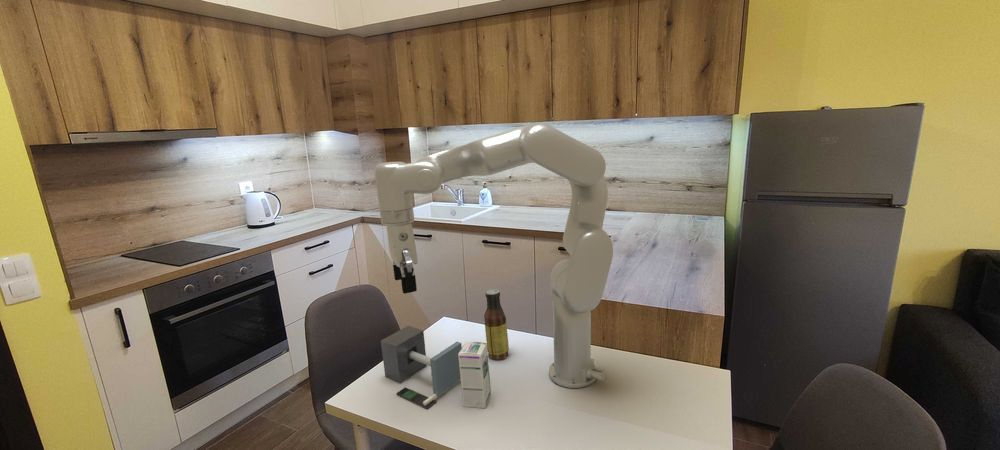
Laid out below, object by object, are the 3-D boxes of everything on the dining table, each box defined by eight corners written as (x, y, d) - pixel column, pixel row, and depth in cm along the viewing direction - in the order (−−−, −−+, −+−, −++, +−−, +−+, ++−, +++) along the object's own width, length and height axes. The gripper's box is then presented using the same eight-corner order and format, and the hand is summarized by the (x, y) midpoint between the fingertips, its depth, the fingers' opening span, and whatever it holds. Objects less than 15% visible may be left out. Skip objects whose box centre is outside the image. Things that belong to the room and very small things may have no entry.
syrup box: (486, 409, 106) (482, 354, 102) (462, 407, 107) (457, 352, 104) (491, 394, 111) (487, 342, 108) (468, 392, 113) (464, 340, 109)
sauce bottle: (513, 352, 130) (509, 289, 126) (501, 363, 125) (498, 297, 120) (494, 347, 134) (490, 286, 129) (482, 357, 129) (478, 293, 124)
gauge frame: (464, 380, 118) (462, 343, 115) (427, 409, 107) (423, 368, 104) (412, 360, 129) (408, 325, 127) (373, 384, 118) (368, 347, 116)
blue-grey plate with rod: (463, 377, 118) (461, 342, 115) (426, 405, 107) (422, 368, 104) (424, 361, 126) (421, 329, 124) (385, 387, 115) (381, 352, 113)
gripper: (422, 220, 96) (429, 294, 100) (405, 207, 112) (412, 271, 116) (387, 225, 93) (396, 301, 97) (375, 211, 109) (383, 277, 113)
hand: (405, 285), depth 107 cm, fingers open, 9 cm apart
